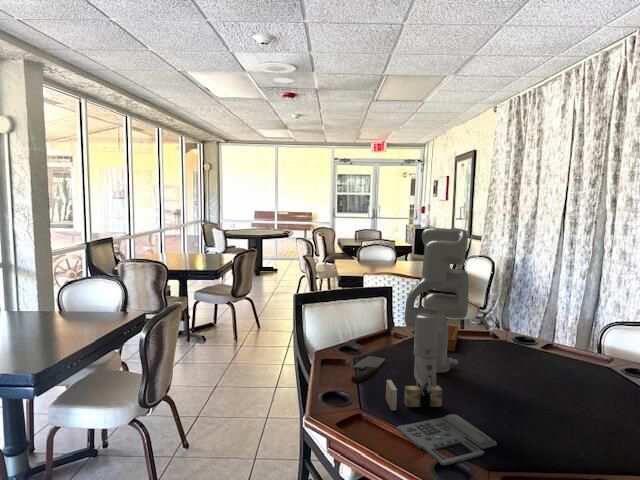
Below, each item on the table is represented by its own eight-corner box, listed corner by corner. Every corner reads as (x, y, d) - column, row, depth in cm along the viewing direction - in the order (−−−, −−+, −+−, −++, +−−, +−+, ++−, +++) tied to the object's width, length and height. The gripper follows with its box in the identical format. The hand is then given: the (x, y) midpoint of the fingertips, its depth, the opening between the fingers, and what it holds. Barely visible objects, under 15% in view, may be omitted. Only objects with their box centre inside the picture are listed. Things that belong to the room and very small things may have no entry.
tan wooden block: (437, 402, 144) (438, 385, 143) (441, 406, 141) (442, 389, 140) (404, 402, 143) (404, 385, 142) (406, 407, 140) (407, 390, 139)
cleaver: (364, 385, 157) (364, 379, 157) (339, 379, 161) (340, 374, 161) (386, 360, 184) (387, 356, 184) (365, 356, 188) (365, 352, 188)
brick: (434, 334, 225) (435, 323, 224) (457, 337, 220) (458, 326, 220) (428, 348, 202) (428, 336, 201) (454, 352, 197) (454, 339, 197)
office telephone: (456, 410, 135) (506, 442, 116) (456, 418, 135) (506, 451, 117) (396, 422, 125) (440, 459, 107) (395, 430, 125) (439, 469, 107)
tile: (390, 399, 145) (391, 379, 144) (396, 410, 137) (397, 389, 136) (385, 399, 145) (386, 379, 144) (391, 410, 137) (391, 389, 136)
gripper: (445, 359, 132) (442, 415, 134) (427, 342, 149) (425, 392, 150) (422, 359, 132) (419, 415, 133) (407, 342, 148) (405, 392, 150)
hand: (422, 402), depth 142 cm, fingers open, 4 cm apart
